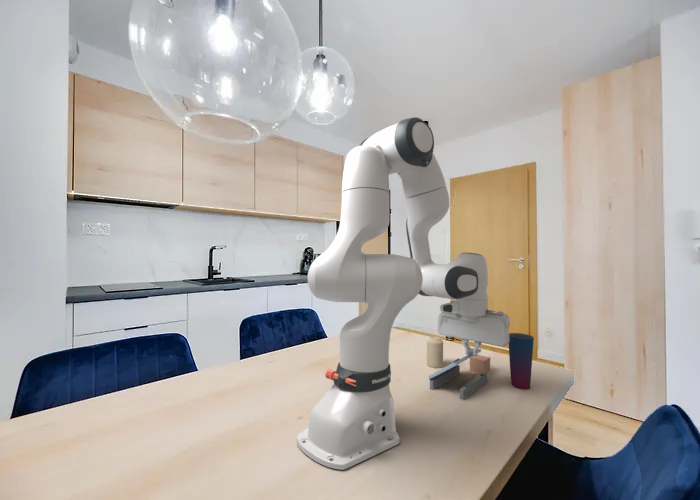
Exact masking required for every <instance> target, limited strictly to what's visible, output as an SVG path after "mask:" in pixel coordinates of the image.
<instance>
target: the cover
mask: <svg viewBox="0 0 700 500" xmlns="http://www.w3.org/2000/svg"><path fill="white" fill-rule="evenodd" d="M479 353H482V349H481V348H479V349H478V350H477V354H479ZM470 357H472V356H471V355H465V356H463V357H461V358H455V359H454V360H453V361H452V363H450V364H448V365H447V366H443V367H441V369H439V370H437V371H435V372H433V373H432V374H429V375H428V379H429V381H430V380H431V379H433V378H435V377H436V376H438V375H440V374H442V373H443V372H445V371H447V370H449V369H450V368H452V367H454V366H456V365H460V364H462V363H463V362H465V361H467V360H470Z"/></svg>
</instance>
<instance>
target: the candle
mask: <svg viewBox="0 0 700 500" xmlns="http://www.w3.org/2000/svg"><path fill="white" fill-rule="evenodd" d="M426 365H427V366H428V367H429V368H434V369H440V368H441V369H442V368H444V340H442V338H441V337H440V336H436V337H435V336H430V337H429V338H428V339H427V340H426Z"/></svg>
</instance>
